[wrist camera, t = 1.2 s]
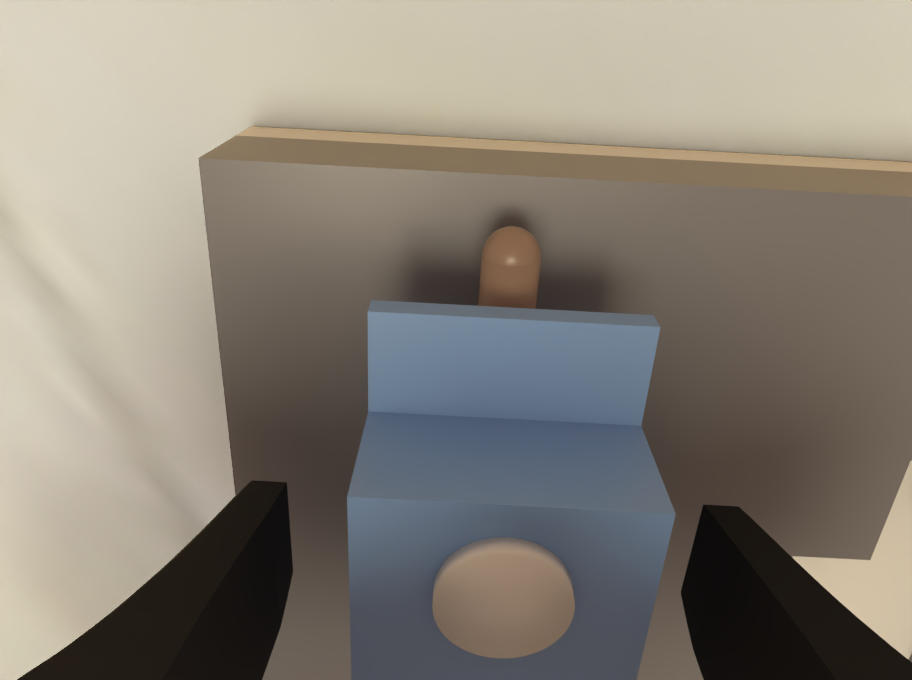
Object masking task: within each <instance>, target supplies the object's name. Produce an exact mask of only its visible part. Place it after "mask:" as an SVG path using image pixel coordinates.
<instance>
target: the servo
mask: <svg viewBox="0 0 912 680" xmlns="http://www.w3.org/2000/svg"><path fill="white" fill-rule="evenodd" d="M540 263H541V251H540V246H539V244H538V242H537V240H536V239H535V237H534V236H533V235H532V234H531V233H530V232H529V231H527V230H525V229H523V228H520V227H515V226H507V227H503V228H500V229H498V230H496V231H495V232H493V233H492V234H491V235H490V236H489V237H488V239H487V240H486V242H485V244H484V247H483V250H482V259H481V273H480V288H479V302H478V306H473V305H454V304H436V303H417V302H398V301H379V300H371V303H370V306H369V309H368V415H367V419H366V423H365V427H364V431H363V435H362V439H361V443H360V447H359V451H358V455H357V459H356V463H355V467H354V471H353V475H352V479H351V483H350V487H349V491H348V495H347V513H348V556H349V599H350V643H351V680H637V676H638V671H639V667H640V663H641V659H642V654H643V650H644V646H645V642H646V638H647V633H648V629H649V625H650V621H651V616H652V612H653V608H654V604H655V599H656V595H657V591H658V587H659V583H660V578H661V574H662V570H663V566H664V561H665V557H666V553H667V549H668V544H669V540H670V536H671V532H672V528H673V523H674V519H675V515H676V513H675V511H674V508H673V506H672V503H671V501H670V498H669V496H668V493H667V491H666V488H665V485H664V483H663V480H662V478H661V475H660V473H659V470H658V468H657V465H656V462H655V460H654V457H653V455H652V452H651V450H650V447H649V445H648V442H647V440H646V437H645V434H644V432H643V429H642V427H641V424H642V419H643V414H644V409H645V404H646V399H647V394H648V389H649V383H650V378H651V373H652V368H653V363H654V358H655V353H656V348H657V343H658V337H659V332H660V325H659V324H658V322H657V320H656V318H655V317H654V315H641V314H623V313H604V312H585V311H567V310H548V309H536V300H537V290H538V281H539V272H540Z"/></svg>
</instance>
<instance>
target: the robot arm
mask: <svg viewBox="0 0 912 680" xmlns="http://www.w3.org/2000/svg"><path fill="white" fill-rule="evenodd" d="M292 575H293V562H292V548H291V533H290V519H289V505H288V491H287V482H273V481H254V480H252V481H250V482H249V483H248V484H247V485H246V486H245V487H244V488H243V489H242V490H241V491H240V492H239V493H238V494H237V495H236V496H235V497H234V498H233V499H232V500H231V501H230V502H229V503H228V504H227V505H226V506H225V507H224V508H223V510H222V511H221V512H220V513H219V514H218V515H217V516H216V517H215V518H214V519H213V520H212V521H211V522H210V523H209V524H208V525H207V526H206V527H205V528H204V529H203V530H202V531H201V532H200V533H199V534H198V535H197V536H196V537H195V538H194V539H193V540H192V541H191V542H190V543H189V544H188V545H186V546H185V547H184V548H183V549H182V550H181V551H180V552H179V553H178V554H177V555H176V556H175V557H174V558H173V559H172V560H171V561H170V562H169V563H168V564H167V565H166V566H164V567H163V568H162V569H161V570H160V571H159V572H158V573H157V574H155V575H154V576H153V577H152V578H151V579H150V580H149V581H147V582H146V583H145V584H144V585H143V586H142V587H141V588H139V589H138V590H137V591H136V592H135V593H134V594H133V595H131V596H130V597H129V598H128V599H127V600H126V601H125V602H123V603H122V604H121V605H120V606H119V607H117V608H116V609H115V610H114V611H112V612H111V613H110V614H109V615H107V616H106V617H105V618H104V619H102V620H101V621H100V622H99V623H97V624H96V625H95V626H93V627H92V628H91V629H90V630H88V631H87V632H86V633H84V634H83V635H82V636H80V637H79V638H78V639H76V640H75V641H74V642H72V643H71V644H70V645H68V646H67V647H65V648H64V649H63V650H61V651H60V652H58V653H57V654H55V655H54V656H52V657H51V658H49V659H48V660H46V661H45V662H43V663H42V664H40V665H39V666H37V667H36V668H34V669H33V670H31V671H29V672H28V673H26V674H25V675H23V676H22V677H20V678H19V679H17V680H262V679H263V676H264V673H265V670H266V667H267V665H268V662H269V659H270V656H271V653H272V650H273V647H274V645H275V642H276V639H277V636H278V633H279V630H280V627H281V623H282V619H283V615H284V610H285V606H286V602H287V598H288V593H289V588H290V584H291V579H292ZM681 597H682V602H683V607H684V611H685V616H686V621H687V626H688V630H689V634H690V638H691V643H692V647H693V651H694V653H695V656H696V659H697V662H698V665H699V668H700V671H701V674H702V677H703V679H704V680H912V662H911V661H910V660H908V659H907V658H906V657H904V656H903V655H902V654H901V653H899V652H898V651H897V650H896V649H894V648H893V647H892V646H891V645H890V644H888V643H887V642H886V641H885V640H884V639H882V638H881V637H880V636H879V635H878V634H876V633H875V632H874V631H873V630H872V629H871V628H869V627H868V626H867V625H866V624H865V623H863V622H862V621H861V620H860V619H859V618H857V617H856V616H855V615H854V614H853V613H852V612H851V611H850V610H848V609H847V608H846V607H845V606H844V605H843V604H842V603H841V602H839V601H838V600H837V599H836V598H835V597H834V596H833V595H832V594H831V593H829V592H828V591H827V590H826V589H825V588H824V587H823V586H822V585H821V584H820V583H819V582H818V581H816V580H815V579H814V578H813V577H812V576H811V575H810V574H809V573H808V572H807V571H806V570H805V569H804V568H803V567H802V566H801V565H800V564H798V563H797V562H796V561H795V560H794V559H793V558H792V557H791V556H790V555H789V554H788V553H787V552H786V551H785V550H784V549H783V548H782V547H781V546H780V545H779V544H778V543H777V542H776V541H775V540H774V539H773V538H772V537H770V536H769V535H768V534H767V533H766V532H765V531H764V530H763V529H762V528H761V527H760V526H759V525H758V524H757V523H756V522H755V521H754V520H753V519H752V518H751V517H750V516H749V515H747V514H746V513H745V512H744V511H743V510H742V509H741V508H740V507H739V506H721V505H703V507H702V511H701V515H700V519H699V523H698V527H697V530H696V534H695V538H694V542H693V546H692V550H691V554H690V558H689V561H688V565H687V569H686V573H685V577H684V581H683V585H682V589H681Z"/></svg>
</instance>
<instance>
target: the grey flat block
mask: <svg viewBox="0 0 912 680" xmlns="http://www.w3.org/2000/svg"><path fill="white" fill-rule="evenodd" d="M199 167H200V176H201V185H202V194H203V203H204V212H205V222H206V231H207V240H208V249H209V258H210V267H211V276H212V285H213V294H214V303H215V312H216V321H217V331H218V340H219V349H220V358H221V367H222V376H223V385H224V394H225V403H226V412H227V421H228V430H229V440H230V449H231V458H232V467H233V476H234V485H235V494H236V495H237V494H238V493H239V492H240V491H241V490H242V489H243V488H244V487H245V486H246V485H247V484H248V483H249V482H250V481H252V480H254V481H273V482H287V491H288V505H289V519H290V533H291V548H292V562H293V575H292V579H291V584H290V588H289V593H288V598H287V602H286V606H285V610H284V615H283V619H282V623H281V627H280V630H279V633H278V636H277V639H276V642H275V645H274V647H273V650H272V653H271V656H270V659H269V662H268V665H267V667H266V670H265V673H264V676H263V679H262V680H351V643H350V599H349V556H348V513H347V495H348V491H349V487H350V483H351V479H352V475H353V471H354V467H355V463H356V459H357V455H358V451H359V447H360V443H361V439H362V435H363V431H364V427H365V423H366V419H367V415H368V309H369V306H370V303H371V300H379V301H398V302H417V303H436V304H454V305H473V306H478V302H479V288H480V273H481V259H482V250H483V247H484V244H485V242H486V240H487V239H488V237H489V236H490V235H491V234H492V233H493V232H495V231H496V230H498V229H500V228H503V227H507V226H515V227H520V228H523V229H525V230H527V231H529V232H530V233H531V234H532V235H533V236H534V237H535V239H536V240H537V242H538V244H539V246H540V251H541V263H540V272H539V281H538V290H537V300H536V309H548V310H567V311H585V312H604V313H623V314H641V315H654V317H655V318H656V320H657V322H658V324H659V325H660V332H659V337H658V343H657V348H656V353H655V358H654V363H653V368H652V373H651V378H650V383H649V389H648V394H647V399H646V404H645V409H644V414H643V419H642V424H641V427H642V429H643V432H644V434H645V437H646V440H647V442H648V445H649V447H650V450H651V452H652V455H653V457H654V460H655V462H656V465H657V468H658V470H659V473H660V475H661V478H662V480H663V483H664V485H665V488H666V491H667V493H668V496H669V498H670V501H671V503H672V506H673V508H674V511H675V513H676V515H675V519H674V523H673V528H672V532H671V536H670V540H669V544H668V549H667V553H666V557H665V561H664V566H663V570H662V574H661V578H660V583H659V587H658V591H657V595H656V599H655V604H654V608H653V612H652V616H651V621H650V625H649V629H648V633H647V638H646V642H645V646H644V650H643V654H642V659H641V663H640V667H639V671H638V676H637V680H704V679H703V677H702V674H701V671H700V668H699V665H698V662H697V659H696V656H695V653H694V651H693V647H692V643H691V638H690V634H689V630H688V626H687V621H686V616H685V611H684V607H683V602H682V597H681V589H682V585H683V581H684V577H685V573H686V569H687V565H688V561H689V558H690V554H691V550H692V546H693V542H694V538H695V534H696V530H697V527H698V523H699V519H700V515H701V511H702V507H703V505H721V506H739V507H740V508H741V509H742V510H743V511H744V512H745V513H746V514H747V515H749V516H750V517H751V518H752V519H753V520H754V521H755V522H756V523H757V524H758V525H759V526H760V527H761V528H762V529H763V530H764V531H765V532H766V533H767V534H768V535H769V536H770V537H772V538H773V539H774V540H775V541H776V542H777V543H778V544H779V545H780V546H781V547H782V548H783V549H784V550H785V551H786V552H787V553H788V554H789V555H790V556H791V557H792V558H793V559H794V560H795V561H796V562H797V563H798V564H800V565H801V566H802V567H803V568H804V569H805V570H806V571H807V572H808V573H809V574H810V575H811V576H812V577H813V578H814V579H815V580H816V581H818V582H819V583H820V584H821V585H822V586H823V587H824V588H825V589H826V590H827V591H828V592H829V593H831V594H832V595H833V596H834V597H835V598H836V599H837V600H838V601H839V602H841V603H842V604H843V605H844V606H845V607H846V608H847V609H848V610H850V611H851V612H852V613H853V614H854V615H855V616H856V617H857V618H859V619H860V620H861V621H862V622H863V623H865V624H866V625H867V626H868V627H869V628H871V629H872V630H873V631H874V632H875V633H876V634H878V635H879V636H880V637H881V638H882V639H884V640H885V641H886V642H887V643H888V644H890V645H891V646H892V647H893V648H894V649H896V650H897V651H898V652H899V653H901V654H902V655H903V656H904V657H906V658H907V659H908V660H910V661H911V662H912V162H898V161H879V160H861V159H842V158H824V157H806V156H787V155H769V154H750V153H732V152H714V151H695V150H677V149H658V148H640V147H621V146H603V145H585V144H566V143H548V142H529V141H511V140H492V139H474V138H456V137H437V136H419V135H400V134H382V133H364V132H345V131H327V130H308V129H290V128H271V127H253V126H251V127H250V128H248V129H246V130H245V131H243V132H241V133H240V134H238V135H236V136H235V137H233V138H231V139H230V140H228V141H226V142H225V143H223V144H221V145H220V146H218V147H216V148H215V149H213V150H211V151H210V152H208V153H206V154H205V155H203V156H201V157H200V158H199Z"/></svg>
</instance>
